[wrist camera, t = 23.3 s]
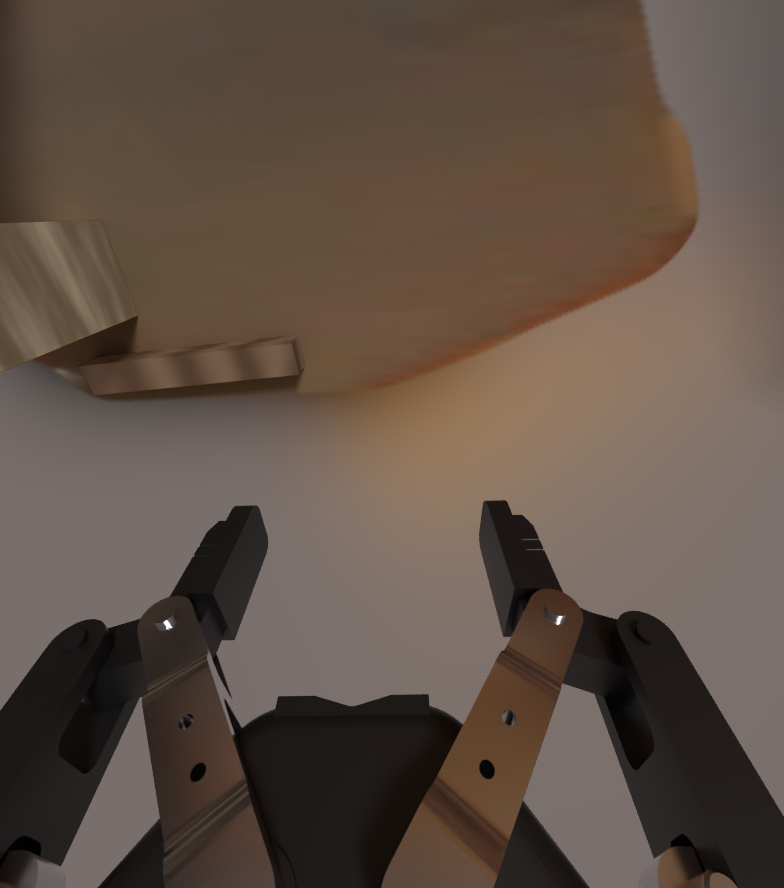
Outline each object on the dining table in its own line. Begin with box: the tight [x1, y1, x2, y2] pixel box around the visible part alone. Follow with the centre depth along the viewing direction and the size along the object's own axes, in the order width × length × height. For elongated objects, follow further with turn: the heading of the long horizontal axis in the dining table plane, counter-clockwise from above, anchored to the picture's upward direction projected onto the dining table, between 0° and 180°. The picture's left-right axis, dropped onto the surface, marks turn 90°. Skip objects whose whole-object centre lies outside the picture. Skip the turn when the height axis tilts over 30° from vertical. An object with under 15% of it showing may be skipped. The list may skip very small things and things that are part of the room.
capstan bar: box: [77, 335, 305, 395], centre depth 42 cm, size 24×4×4 cm, turn 96°
